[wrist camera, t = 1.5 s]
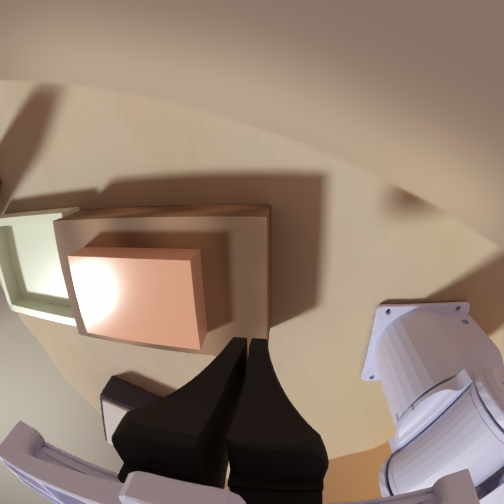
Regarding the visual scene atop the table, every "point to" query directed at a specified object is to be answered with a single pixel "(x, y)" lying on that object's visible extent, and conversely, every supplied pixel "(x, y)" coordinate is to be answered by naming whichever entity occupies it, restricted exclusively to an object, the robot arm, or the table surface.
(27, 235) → the tray
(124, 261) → the tile
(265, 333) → the brown wooden block
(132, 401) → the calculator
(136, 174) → the table surface
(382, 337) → the robot arm
